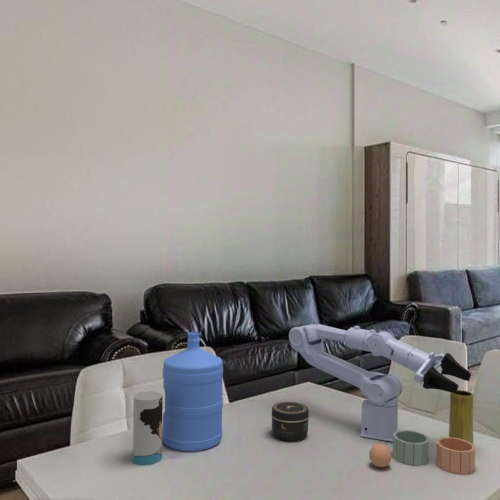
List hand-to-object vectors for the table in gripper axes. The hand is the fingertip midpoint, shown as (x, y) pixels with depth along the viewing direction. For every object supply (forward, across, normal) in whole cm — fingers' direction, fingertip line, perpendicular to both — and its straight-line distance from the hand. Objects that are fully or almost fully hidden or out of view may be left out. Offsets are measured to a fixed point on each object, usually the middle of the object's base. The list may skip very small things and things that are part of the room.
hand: (463, 383), depth 115 cm
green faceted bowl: (-4, -12, +18) cm, 22 cm away
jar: (-32, -23, +25) cm, 47 cm away
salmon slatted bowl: (+5, -8, +16) cm, 19 cm away
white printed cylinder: (-47, -58, +22) cm, 78 cm away
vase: (+3, +2, +20) cm, 20 cm away
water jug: (-48, -44, +25) cm, 70 cm away
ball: (-8, -21, +15) cm, 27 cm away
